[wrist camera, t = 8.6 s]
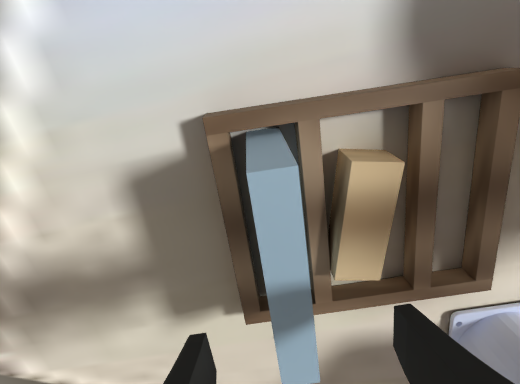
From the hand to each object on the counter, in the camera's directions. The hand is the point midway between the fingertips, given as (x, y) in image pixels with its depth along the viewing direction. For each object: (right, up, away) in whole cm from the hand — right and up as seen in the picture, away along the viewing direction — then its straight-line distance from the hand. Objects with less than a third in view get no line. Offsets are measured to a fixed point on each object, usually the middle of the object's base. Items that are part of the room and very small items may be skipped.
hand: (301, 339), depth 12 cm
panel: (-1, +4, +10) cm, 11 cm away
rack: (+5, +5, +10) cm, 12 cm away
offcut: (+5, +5, +10) cm, 12 cm away
